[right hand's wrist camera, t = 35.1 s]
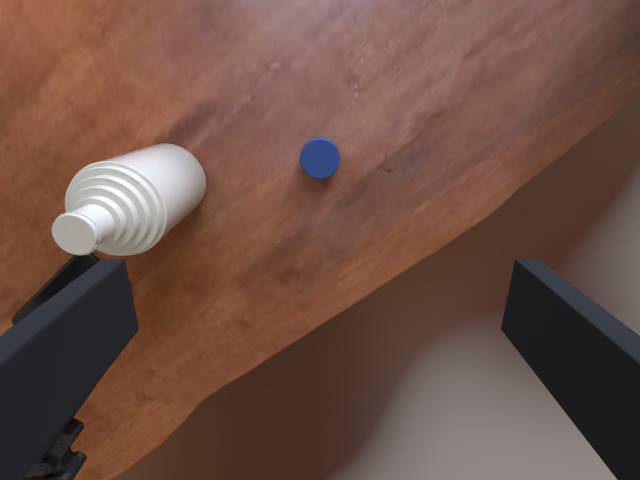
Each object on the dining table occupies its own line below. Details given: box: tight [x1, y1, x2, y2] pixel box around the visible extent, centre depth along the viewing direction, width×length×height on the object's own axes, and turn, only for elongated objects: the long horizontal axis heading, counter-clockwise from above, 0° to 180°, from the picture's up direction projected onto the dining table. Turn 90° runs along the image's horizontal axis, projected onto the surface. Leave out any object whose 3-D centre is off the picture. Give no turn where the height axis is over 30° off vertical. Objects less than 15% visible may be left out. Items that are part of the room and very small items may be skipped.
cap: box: [300, 137, 339, 179], centre depth 41 cm, size 4×4×2 cm
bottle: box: [52, 144, 206, 256], centre depth 34 cm, size 8×8×18 cm
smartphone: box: [11, 253, 100, 325], centre depth 48 cm, size 8×1×16 cm
